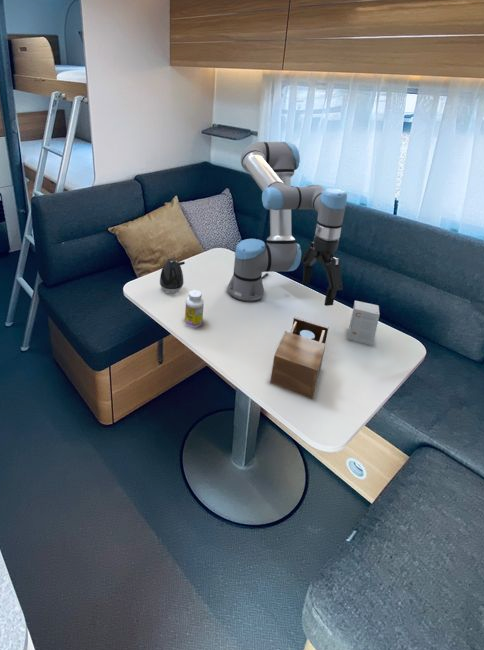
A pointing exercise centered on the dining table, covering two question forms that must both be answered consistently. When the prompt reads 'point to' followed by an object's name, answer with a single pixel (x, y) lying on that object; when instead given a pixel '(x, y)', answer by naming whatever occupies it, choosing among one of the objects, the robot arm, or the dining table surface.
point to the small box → (363, 322)
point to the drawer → (310, 329)
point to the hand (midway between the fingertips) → (316, 293)
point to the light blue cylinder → (307, 334)
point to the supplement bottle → (194, 309)
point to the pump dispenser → (171, 276)
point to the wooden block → (297, 364)
